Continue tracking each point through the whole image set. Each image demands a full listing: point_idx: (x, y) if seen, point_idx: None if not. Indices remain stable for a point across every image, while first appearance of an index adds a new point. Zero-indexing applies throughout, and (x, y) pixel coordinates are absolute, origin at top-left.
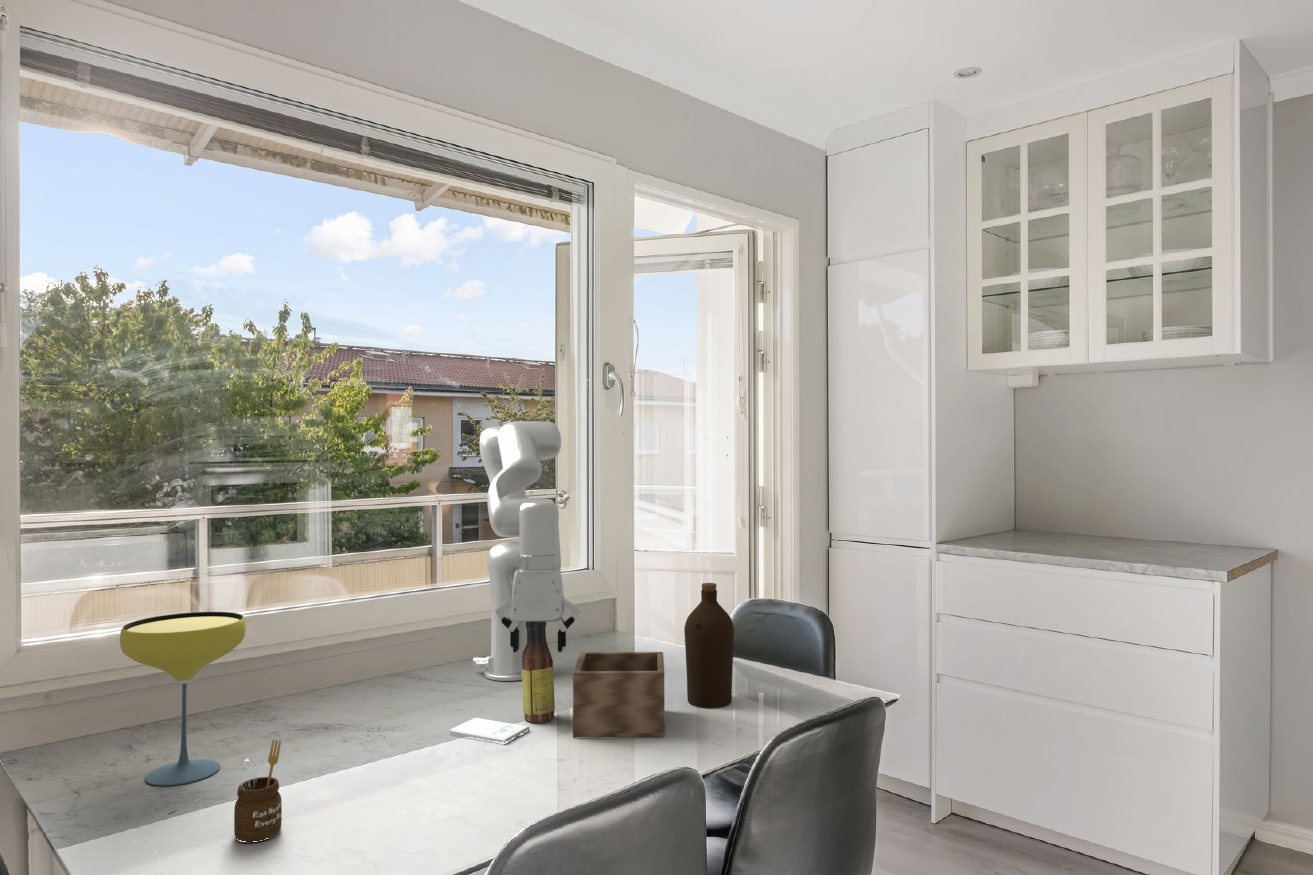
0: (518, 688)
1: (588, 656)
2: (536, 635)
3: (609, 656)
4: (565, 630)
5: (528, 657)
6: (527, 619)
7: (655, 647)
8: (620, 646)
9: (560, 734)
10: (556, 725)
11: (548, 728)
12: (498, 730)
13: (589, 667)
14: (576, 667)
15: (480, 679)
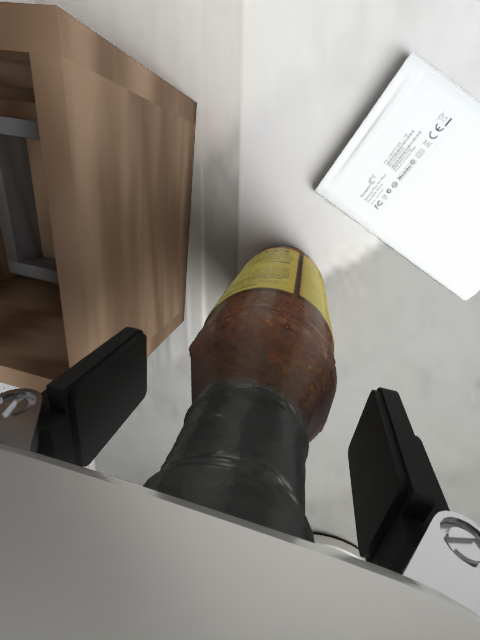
0: (314, 494)
1: None
2: (234, 416)
3: (4, 357)
4: (12, 391)
5: (306, 329)
6: (302, 561)
7: None
8: None
9: (230, 142)
10: (239, 223)
11: (261, 201)
12: (418, 158)
13: None
14: (63, 148)
15: None
